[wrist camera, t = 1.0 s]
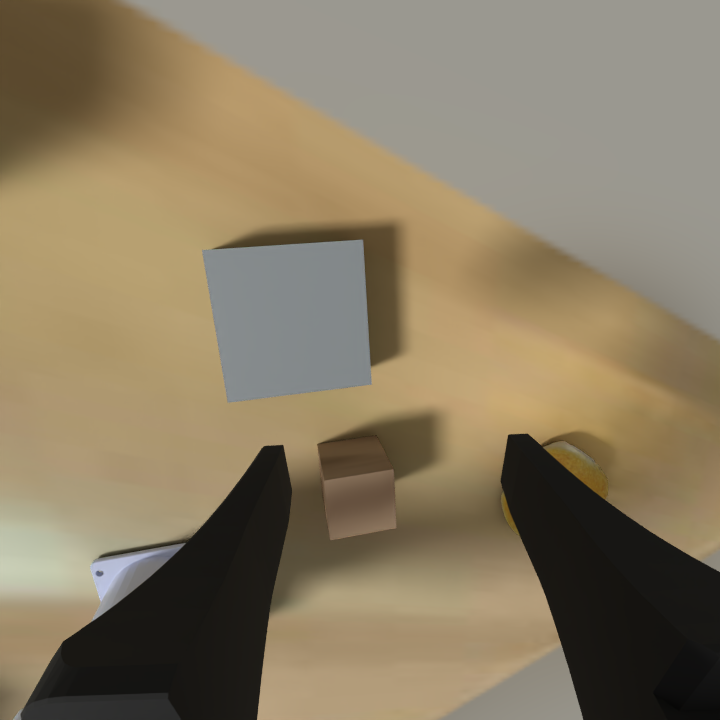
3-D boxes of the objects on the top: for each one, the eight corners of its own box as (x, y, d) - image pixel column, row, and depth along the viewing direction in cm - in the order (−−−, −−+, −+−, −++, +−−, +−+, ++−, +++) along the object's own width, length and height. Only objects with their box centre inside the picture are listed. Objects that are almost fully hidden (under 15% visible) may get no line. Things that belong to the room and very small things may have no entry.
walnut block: (379, 486, 32) (396, 528, 27) (322, 495, 31) (330, 540, 26) (376, 434, 30) (393, 469, 26) (317, 443, 30) (323, 480, 25)
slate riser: (362, 371, 29) (371, 384, 26) (233, 386, 27) (227, 402, 24) (354, 240, 26) (363, 239, 23) (211, 249, 25) (202, 250, 22)
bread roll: (480, 510, 35) (504, 542, 31) (541, 425, 33) (575, 448, 30) (546, 543, 37) (577, 577, 33) (605, 465, 36) (644, 490, 32)
